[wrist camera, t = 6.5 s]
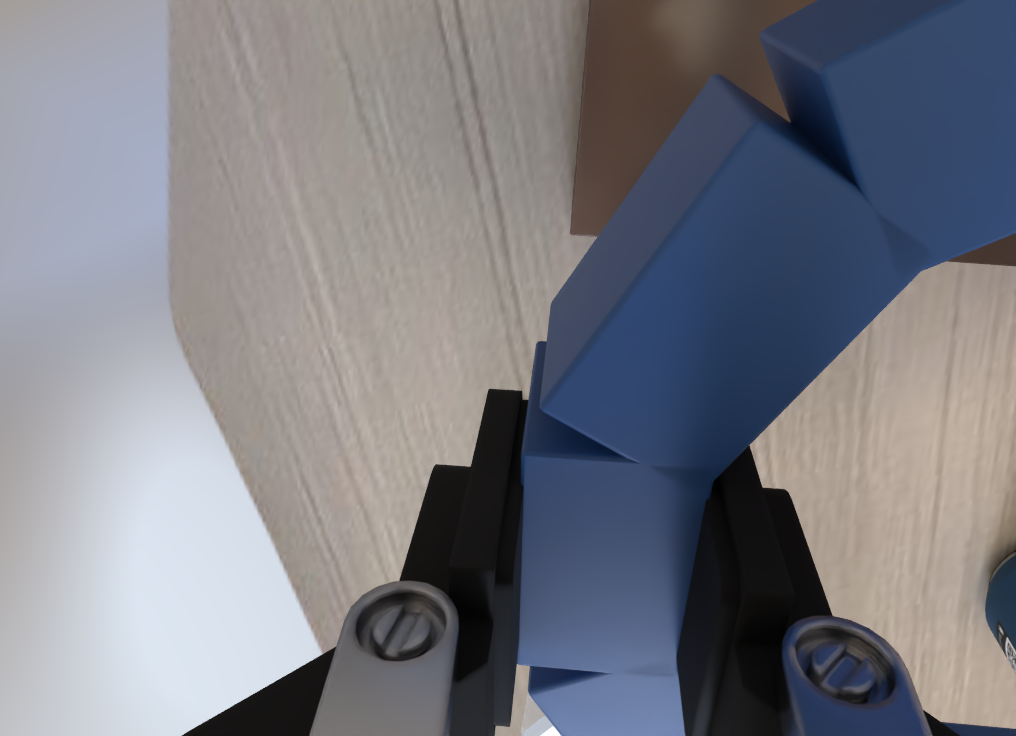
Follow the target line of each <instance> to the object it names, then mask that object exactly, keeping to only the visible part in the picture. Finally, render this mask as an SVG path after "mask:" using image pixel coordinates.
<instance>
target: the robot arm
mask: <svg viewBox="0 0 1016 736" xmlns="http://www.w3.org/2000/svg"><path fill="white" fill-rule="evenodd" d="M527 407H528V400H522V391H515V390H499V389H489V390H488V394H487V398H486V403H485V407H484V412H483V416H482V420H481V425H480V429H479V434H478V438H477V442H476V447H475V451H474V456H473V460H472V464H471V467H466V466H452V465H438V464H436V465H435V466H434V468H433V470H432V473H431V476H430V480H429V483H428V486H427V490H426V493H425V497H424V500H423V503H422V507H421V510H420V513H419V517H418V520H417V523H416V527H415V530H414V533H413V537H412V540H411V544H410V547H409V550H408V554H407V557H406V560H405V564H404V567H403V570H402V574H401V577H400V581H396V582H391V583H388V584H384V585H381V586H378V587H376V588H374V589H372V590H371V591H369V592H367V593H366V594H364V595H362V596H361V597H360V598H359V600H358V601H357V602H356V603H355V604H354V605H353V606H352V607H351V608H350V610H349V612H348V614H347V616H346V618H345V620H344V623H343V627H342V630H341V633H340V636H339V640H338V643H337V646H336V647H335V648H333V649H331V650H329V651H328V652H326V653H324V654H323V655H321V656H319V657H318V658H316V659H314V660H312V661H310V662H309V663H307V664H305V665H303V666H302V667H300V668H298V669H296V670H295V671H293V672H292V673H290V674H288V675H286V676H284V677H282V678H281V679H279V680H277V681H276V682H274V683H272V684H270V685H269V686H267V687H265V688H263V689H262V690H260V691H258V692H257V693H255V694H253V695H251V696H249V697H248V698H246V699H244V700H243V701H241V702H239V703H237V704H235V705H234V706H232V707H230V708H229V709H227V710H225V711H224V712H222V713H220V714H218V715H217V716H215V717H213V718H211V719H209V720H208V721H206V722H204V723H202V724H201V725H199V726H197V727H195V728H194V729H192V730H190V731H189V732H187V733H185V734H184V735H182V736H494V735H495V727H496V726H506V727H510V722H511V713H512V704H513V694H514V684H515V674H516V665H517V655H518V645H519V619H520V587H521V555H522V523H523V491H524V486H522V485H521V483H520V481H521V451H522V444H523V437H524V429H525V422H526V415H527ZM676 660H677V669H678V678H679V687H680V695H681V704H682V713H683V721H684V730H685V736H960V735H959V734H957V733H956V732H954V731H953V730H951V729H950V728H948V727H947V726H946V725H944V724H943V723H941V722H940V721H938V720H937V719H936V718H934V717H933V716H931V715H930V714H928V713H927V712H926V711H924V710H923V709H922V706H921V703H920V701H919V698H918V695H917V693H916V690H915V687H914V685H913V682H912V679H911V677H910V674H909V671H908V669H907V668H906V666H905V664H904V662H903V660H902V659H901V657H900V655H899V654H898V653H897V652H896V651H895V650H894V649H893V647H892V646H891V645H890V644H889V643H888V642H887V641H886V640H885V639H883V638H882V637H880V636H879V635H877V634H876V633H875V632H873V631H872V630H870V629H869V628H867V627H864V626H862V625H860V624H858V623H855V622H853V621H851V620H848V619H843V618H839V617H834V616H832V613H831V610H830V607H829V604H828V601H827V599H826V596H825V593H824V590H823V587H822V584H821V582H820V579H819V576H818V573H817V570H816V567H815V564H814V562H813V559H812V556H811V553H810V550H809V547H808V544H807V542H806V539H805V536H804V533H803V530H802V527H801V525H800V522H799V519H798V516H797V513H796V510H795V507H794V505H793V502H792V499H791V497H790V495H789V493H788V492H787V491H786V490H785V489H774V488H762V485H761V482H760V478H759V475H758V472H757V469H756V465H755V462H754V459H753V455H752V452H751V449H750V446H748V447H747V448H746V449H745V450H744V451H743V452H742V453H741V454H740V455H739V456H738V457H737V458H736V459H735V460H734V461H733V462H732V463H731V464H730V465H729V466H728V467H727V468H726V469H725V470H724V471H723V472H722V473H721V474H720V475H719V476H718V477H717V478H716V479H715V480H714V481H713V485H712V490H711V496H710V499H708V500H706V503H705V508H704V513H703V518H702V524H701V529H700V534H699V540H698V545H697V550H696V556H695V561H694V566H693V571H692V577H691V582H690V587H689V593H688V598H687V603H686V608H685V614H684V619H683V624H682V630H681V635H680V640H679V645H678V651H677V656H676Z"/></svg>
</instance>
